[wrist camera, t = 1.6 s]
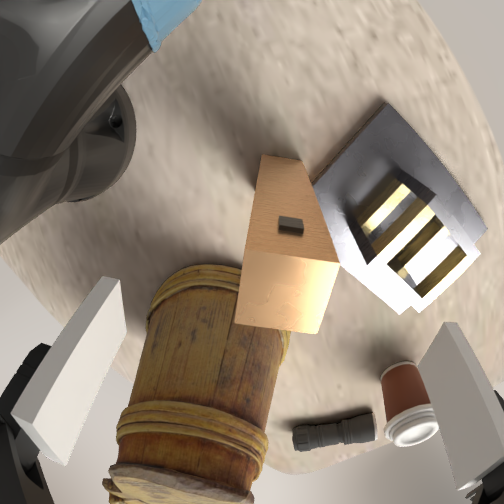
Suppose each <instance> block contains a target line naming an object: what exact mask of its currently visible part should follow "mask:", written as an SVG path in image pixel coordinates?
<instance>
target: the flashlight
mask: <svg viewBox="0 0 504 504" xmlns="http://www.w3.org/2000/svg"><path fill="white" fill-rule="evenodd" d="M292 440H293V445H294V449H295V451H297V450H299V451H300V452H302V451H310V450H311V449H314V448H317V447H325V446H329V445H336V444H339V442H341V443H344V444H345V445H346V444H352V443H364V442H369V441H374V440H377V424H376V419H375V414H374V413H372V414H371V413H370V414H365V415H360V416H357V417H354V418H352V419H348V420H347V419H346V420H342V423H339V424H336V423H333V424H327V425H317V426H315V425H313V426H309V425H301V426H297V428H293V437H292Z"/></svg>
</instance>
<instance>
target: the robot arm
mask: <svg viewBox="0 0 504 504" xmlns="http://www.w3.org/2000/svg"><path fill="white" fill-rule="evenodd" d="M201 1H202V0H0V244H2V243H3V242H4V241H5V240H7V239H8V238H9V237H10V236H12V235H13V234H14V233H16V232H17V231H18V230H20V229H21V228H22V227H24V226H25V225H26V224H28V223H29V222H30V221H32V220H33V219H35V218H36V217H37V216H39V215H40V214H42V213H43V212H44V211H46V210H47V209H49V208H50V207H52V206H53V205H55V204H59V203H63V202H79V201H85V200H88V199H91V198H93V197H96V196H97V195H99V194H101V193H102V192H104V191H105V190H107V189H108V188H109V187H111V186H112V185H113V184H114V183H116V182H117V181H118V179H119V178H120V177H121V176H122V174H123V173H124V172H125V170H126V168H127V166H128V165H129V162H130V160H131V157H132V155H133V151H134V147H135V141H136V120H135V114H134V110H133V107H132V104H131V101H130V99H129V97H128V95H127V93H126V92H125V90H124V89H123V87H122V86H121V85H120V84H121V83H122V82H123V81H124V80H125V79H126V78H127V77H128V76H129V75H130V74H131V73H132V72H133V71H134V70H135V69H136V67H137V66H138V65H139V64H140V63H141V62H142V61H143V60H145V59H146V58H147V57H148V56H149V55H150V54H151V53H152V52H154V53H155V52H157V51H158V50H159V48H160V46H161V42H162V41H163V40H164V39H165V38H166V37H167V36H168V35H169V34H170V33H171V32H172V31H173V30H174V29H175V28H176V27H177V26H178V25H179V24H180V23H181V22H182V21H183V20H185V19H186V18H187V17H188V16H189V15H190V14H191V13H192V12H193V11H194V10H195V9H196V8H197V7H198V6H199V4H200V3H201ZM126 333H127V330H126V323H125V316H124V309H123V302H122V294H121V285H120V279H115V278H110V277H105V276H102V277H101V278H100V280H99V281H98V282H97V284H96V285H95V286H94V288H93V289H92V290H91V292H90V293H89V294H88V296H87V297H86V298H85V300H84V301H83V302H82V304H81V305H80V306H79V308H78V309H77V311H76V312H75V313H74V315H73V316H72V318H71V319H70V320H69V322H68V323H67V325H66V326H65V328H64V329H63V330H62V332H61V333H60V335H59V336H58V338H57V339H56V341H55V342H54V344H53V345H52V346H49V345H46V344H43V343H41V344H39V345H38V346H37V347H35V348H34V349H33V350H31V351H30V352H29V354H28V355H27V357H26V358H25V360H24V361H23V364H22V365H20V367H19V369H18V370H17V373H16V374H15V375H14V376H13V378H12V379H11V381H10V382H9V384H8V386H7V387H6V389H5V390H4V392H3V393H2V395H1V397H0V504H54V502H53V499H52V497H51V494H50V492H49V489H48V486H47V483H46V480H45V478H44V475H43V472H42V469H41V466H40V462H39V460H38V458H37V456H38V454H39V451H41V452H42V453H43V455H44V456H45V457H46V458H48V459H50V460H53V461H55V462H57V463H59V464H61V465H64V466H66V465H67V462H68V460H69V457H70V455H71V452H72V450H73V448H74V445H75V443H76V441H77V438H78V436H79V434H80V431H81V429H82V427H83V424H84V422H85V420H86V417H87V415H88V413H89V411H90V408H91V406H92V404H93V402H94V399H95V397H96V395H97V393H98V391H99V389H100V386H101V384H102V382H103V380H104V378H105V376H106V374H107V372H108V370H109V368H110V366H111V363H112V361H113V359H114V357H115V355H116V353H117V351H118V349H119V347H120V345H121V343H122V341H123V339H124V337H125V335H126ZM417 367H418V370H419V372H420V375H421V377H422V380H423V383H424V385H425V388H426V391H427V394H428V396H429V399H430V402H431V405H432V408H433V411H434V414H435V417H436V420H437V423H438V426H439V429H440V432H441V435H442V438H443V442H444V445H445V448H446V451H447V455H448V458H449V462H450V466H451V469H452V473H453V477H454V481H455V484H456V489H457V490H461V489H464V488H467V487H470V486H472V485H474V484H475V483H477V482H478V481H479V480H481V479H482V482H483V483H482V484H481V485H480V486H478V487H477V488H475V489H474V490H472V491H471V492H469V493H468V494H467V496H466V497H465V498H469V497H470V496H472V495H473V494H475V493H476V494H475V496H473V497H472V498H471V499H470V500H471V501H473V502H472V504H504V400H503V398H502V397H501V396H500V395H499V394H498V393H497V391H496V390H493V388H492V386H491V384H490V382H489V380H488V378H487V376H486V374H485V372H484V370H483V368H482V366H481V365H480V363H479V361H478V359H477V357H476V355H475V353H474V352H473V350H472V348H471V346H470V344H469V343H468V341H467V339H466V337H465V336H464V334H463V332H462V331H461V329H460V327H459V325H458V324H457V323H454V322H444V323H443V325H442V326H441V328H440V330H439V332H438V333H437V335H436V337H435V339H434V340H433V342H432V344H431V345H430V347H429V349H428V350H427V352H426V354H425V355H424V357H423V358H422V360H421V361H420V363H419V365H418V366H417Z"/></svg>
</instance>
